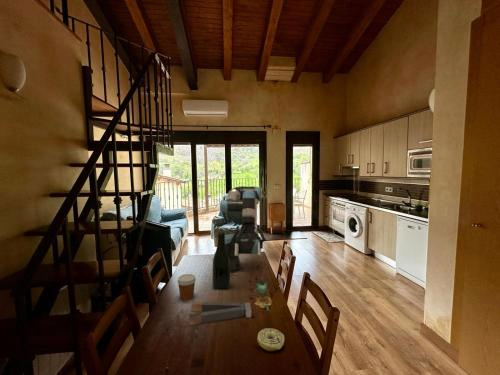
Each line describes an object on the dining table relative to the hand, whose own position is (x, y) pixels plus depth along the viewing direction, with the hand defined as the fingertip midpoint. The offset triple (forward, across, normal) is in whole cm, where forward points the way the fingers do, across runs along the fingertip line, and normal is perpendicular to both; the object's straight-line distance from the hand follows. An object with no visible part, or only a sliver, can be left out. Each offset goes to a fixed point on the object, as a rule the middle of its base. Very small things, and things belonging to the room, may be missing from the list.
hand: (247, 255), depth 132 cm
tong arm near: (+29, -8, -16) cm, 34 cm away
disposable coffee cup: (+23, -31, -7) cm, 39 cm away
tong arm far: (+27, -10, -11) cm, 31 cm away
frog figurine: (+24, +7, +4) cm, 25 cm away
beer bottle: (+16, -20, +11) cm, 28 cm away
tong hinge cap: (+28, +3, -7) cm, 29 cm away
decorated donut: (+36, +18, -18) cm, 45 cm away
